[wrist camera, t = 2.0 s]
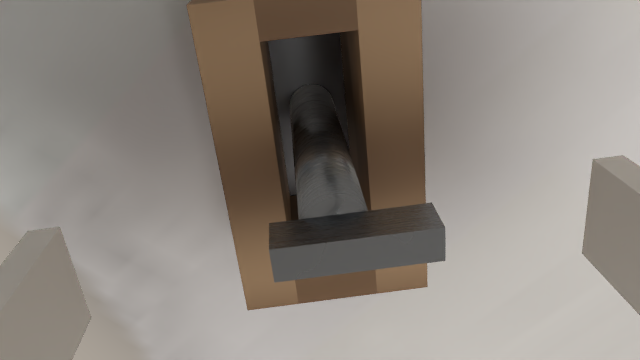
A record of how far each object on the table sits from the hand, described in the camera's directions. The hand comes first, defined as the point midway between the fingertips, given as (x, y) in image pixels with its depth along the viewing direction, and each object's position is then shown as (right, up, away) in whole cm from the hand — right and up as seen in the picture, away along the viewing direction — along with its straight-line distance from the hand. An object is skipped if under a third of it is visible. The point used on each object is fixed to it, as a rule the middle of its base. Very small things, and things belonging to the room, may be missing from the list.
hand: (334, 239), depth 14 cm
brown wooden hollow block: (-1, +5, +9) cm, 10 cm away
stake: (-1, +5, +9) cm, 10 cm away
